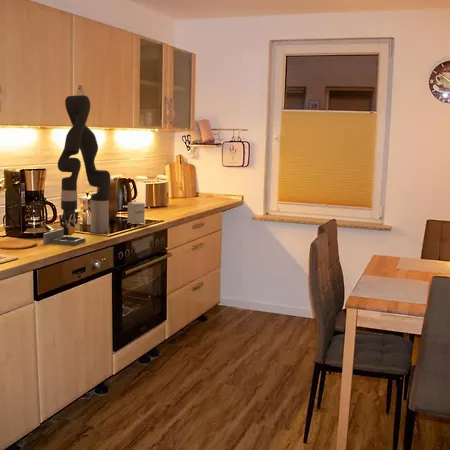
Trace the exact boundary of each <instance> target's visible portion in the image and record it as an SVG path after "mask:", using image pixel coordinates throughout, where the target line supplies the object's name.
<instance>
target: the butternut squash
mask: <svg viewBox="0 0 450 450" xmlns="http://www.w3.org/2000/svg"><path fill="white" fill-rule="evenodd" d="M98 191H99V187H96V193H97V192H98ZM117 202H118V201H117V184H116V181H115V179H113V178H110V194H109V210H108V214H109V221H110V220H111V221H112V220H114V219H116V217H117V216H118V213H119V208H118V207H119V206H118V203H117Z"/></svg>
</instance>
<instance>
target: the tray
mask: <svg viewBox="0 0 450 450" xmlns="http://www.w3.org/2000/svg"><path fill="white" fill-rule="evenodd" d="M83 242H84V243H86V237H83V236H72V235H70V236H68V235H67V236H66V235H64V236H63V237H60V238H56V239H53V242H52V244H53V245H60V246H70V247H75V246H78V245H80V243H81V244H83ZM74 245H75V246H74Z"/></svg>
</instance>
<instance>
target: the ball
mask: <svg viewBox="0 0 450 450" xmlns="http://www.w3.org/2000/svg"><path fill="white" fill-rule="evenodd" d="M73 233H74V234H75V228H73V227H72V226H70V224H69V226H68V235H67V236H72V235H74V234H73Z"/></svg>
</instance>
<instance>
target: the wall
mask: <svg viewBox="0 0 450 450" xmlns="http://www.w3.org/2000/svg"><path fill="white" fill-rule="evenodd" d="M63 232H64V228H58V229H55V230H52V231H48V232H44V233H43V234H42V235H43V239H42V240H43V245H47V244H50V243H51V244H52V243H53V239H56V238H60V237H63V236H65V235H64V233H63Z"/></svg>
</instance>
